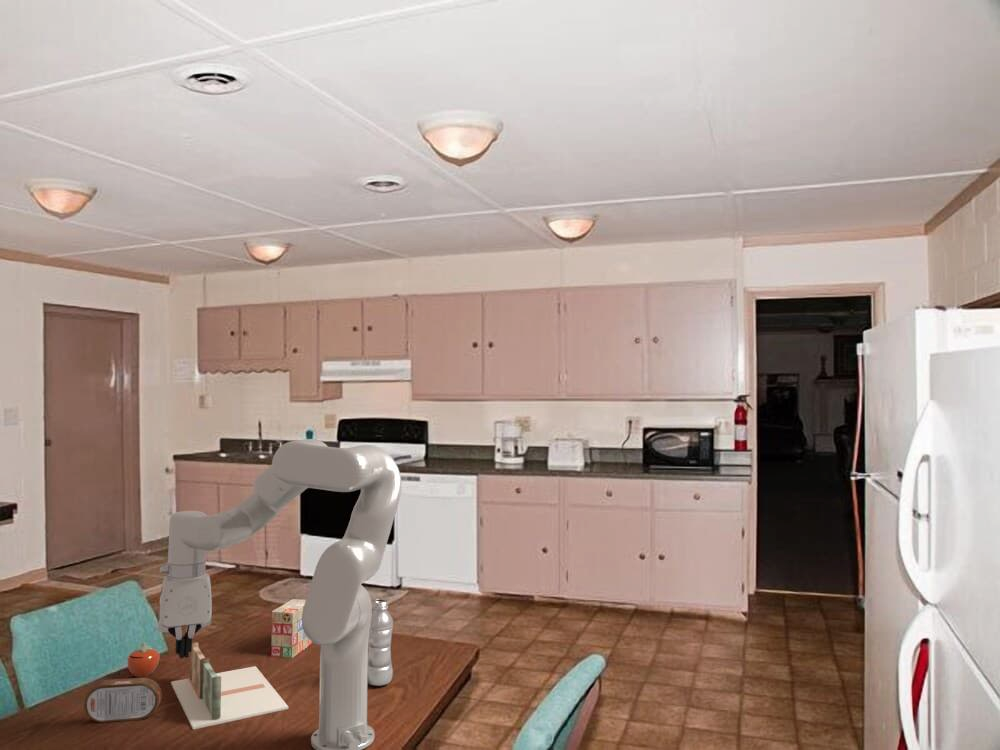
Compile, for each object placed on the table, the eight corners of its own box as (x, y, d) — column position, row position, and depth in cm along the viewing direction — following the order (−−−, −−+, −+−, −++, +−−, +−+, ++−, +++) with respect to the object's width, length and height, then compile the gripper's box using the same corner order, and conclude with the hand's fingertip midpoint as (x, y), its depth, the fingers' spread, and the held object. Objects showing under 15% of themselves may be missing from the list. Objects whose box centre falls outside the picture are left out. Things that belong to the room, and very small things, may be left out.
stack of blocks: (306, 632, 221) (307, 590, 221) (326, 633, 219) (326, 591, 220) (270, 657, 200) (271, 610, 200) (292, 658, 198) (292, 612, 199)
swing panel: (201, 699, 170) (202, 662, 170) (209, 697, 170) (210, 660, 171) (212, 719, 159) (213, 680, 159) (221, 717, 160) (222, 678, 160)
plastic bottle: (359, 686, 180) (360, 602, 180) (377, 676, 186) (377, 596, 186) (381, 691, 177) (382, 606, 177) (398, 681, 183) (399, 599, 183)
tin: (161, 713, 164) (162, 674, 164) (158, 719, 161) (159, 680, 161) (86, 719, 160) (87, 680, 161) (81, 726, 157) (82, 685, 158)
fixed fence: (209, 697, 171) (210, 660, 171) (200, 699, 170) (201, 661, 170) (197, 676, 183) (198, 641, 184) (188, 678, 182) (189, 643, 183)
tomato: (119, 678, 183) (120, 645, 184) (141, 667, 191) (141, 636, 191) (145, 681, 182) (146, 648, 182) (166, 670, 189) (166, 638, 189)
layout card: (288, 708, 166) (288, 706, 166) (192, 729, 156) (192, 726, 156) (255, 668, 191) (255, 665, 191) (171, 683, 180) (171, 681, 180)
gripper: (150, 577, 152) (147, 667, 152) (226, 570, 160) (223, 656, 160) (146, 569, 159) (142, 656, 158) (219, 562, 167) (216, 645, 166)
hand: (183, 655), depth 159 cm, fingers closed
